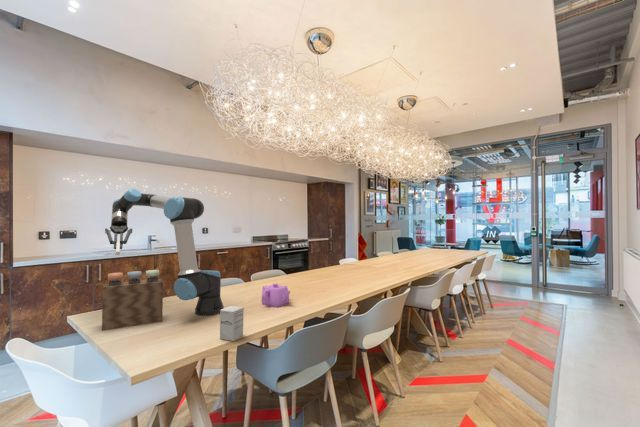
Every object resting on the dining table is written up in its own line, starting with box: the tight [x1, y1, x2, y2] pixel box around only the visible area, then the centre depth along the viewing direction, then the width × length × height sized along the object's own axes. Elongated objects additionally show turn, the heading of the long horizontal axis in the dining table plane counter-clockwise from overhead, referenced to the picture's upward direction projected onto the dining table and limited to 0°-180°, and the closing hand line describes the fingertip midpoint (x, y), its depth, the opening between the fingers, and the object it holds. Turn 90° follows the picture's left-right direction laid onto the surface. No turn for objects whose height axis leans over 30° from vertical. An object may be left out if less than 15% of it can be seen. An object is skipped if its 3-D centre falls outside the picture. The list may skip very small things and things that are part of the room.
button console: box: [101, 276, 164, 331], centre depth 149 cm, size 25×10×22 cm, turn 121°
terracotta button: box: [107, 272, 124, 282], centre depth 145 cm, size 6×6×4 cm
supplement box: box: [219, 305, 245, 342], centre depth 129 cm, size 7×7×13 cm
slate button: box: [126, 270, 142, 280], centre depth 150 cm, size 6×6×4 cm
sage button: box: [145, 269, 160, 279], centre depth 154 cm, size 6×6×4 cm
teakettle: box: [261, 283, 291, 308], centre depth 183 cm, size 17×17×12 cm
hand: (117, 253), depth 155 cm, fingers closed
